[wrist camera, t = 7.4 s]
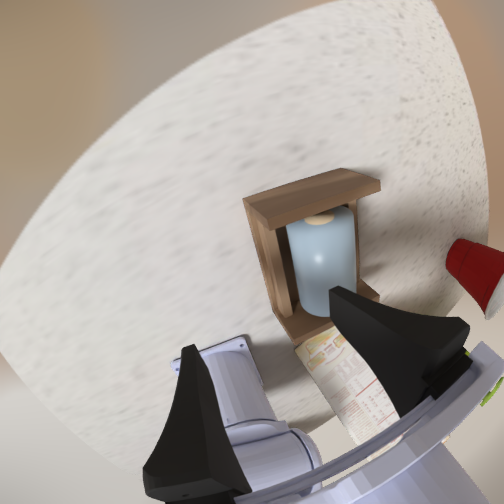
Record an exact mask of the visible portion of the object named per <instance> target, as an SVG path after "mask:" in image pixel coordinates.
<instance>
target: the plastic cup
mask: <svg viewBox="0 0 504 504" xmlns="http://www.w3.org/2000/svg"><path fill="white" fill-rule="evenodd" d="M446 269H447V270H448V271H449V273H450V274H451V275H452V276H453V277H454V278H456V279H457V280H458V281H459V283H460V284H461V285H462V286H463V288H464V289H465V290H466V291H467V292H468V293H469V294H470V295H471V296H472V297H473V298H474V299H475V301H476V302H477V303H478V305H479V306H480V307H481V309H482V311H483V312H484V315H485V319H486V320H489V319H491V318H492V317H493V316H494V315H495V314H496V313H497V312H498V311H499V310H500V308H501V307H502V306H503V304H504V252H501V251H499V250H496V249H493V248H490V247H488V246H485V245H482V244H479V243H474V242H472V241H469V240H466V239H461V238H460V239H457V240H456V241H455V242H454V244H453V245H452V247H451V248H450V251H449V253H448V255H447V259H446Z"/></svg>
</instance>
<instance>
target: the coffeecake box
mask: <svg viewBox="0 0 504 504" xmlns="http://www.w3.org/2000/svg"><path fill="white" fill-rule="evenodd" d="M295 352H296V354H297V355H298V357H299V358H300V360H301V361H302V363H303V365H304V366H305V368H306V369H307V371H308V372H309V374H310V375H311V377H312V378H313V380H314V381H315V383H316V384H317V386H318V387H319V389H320V390H321V392H322V394H323V395H324V397H325V398H326V400H327V401H328V403H329V404H330V406H331V407H332V409H333V410H334V412H335V413H336V415H337V416H338V418H339V419H340V421H341V422H342V424H343V425H344V427H345V428H346V430H347V431H348V433H349V434H350V436H351V437H352V439H353V440H354V441H355V443H356V445H357V446H359V445H361V444H363V443H364V442H366V441H368V440H369V439H371V438H372V437H374V436H376V435H377V434H379V433H380V432H382V431H383V430H385V429H386V428H388V427H389V426H391V425H392V424H394V423H395V422H396V421H398V420H399V419H400V418H399V416H398V413H397V412H396V410H395V408H394V406H393V404H392V402H391V400H390V398H389V397H388V395H387V393H386V392H385V390H384V388H383V387H382V385H381V383H380V382H379V380H378V379H377V377H376V376H375V374H374V373H373V371H372V370H371V368H370V367H369V366H368V364H367V363H366V362H365V360H364V359H363V358H362V357H361V356H360V355H359V354H358V352H357V351H356V350H355V349H354V348H353V347H352V346H351V345H350V343H349V342H348V341H347V340H346V339H345V338H344V337H343V336H342V334H341V333H340V332H339V331H338V329H337V328H336V326H334V327H332V328H330V329H328V330H326V331H324V332H322V333H320V334H318V335H316V336H314V337H312V338H310V339H308V340H306V341H304V342H303V343H302V344H301V345H300V346H299V347H297V348H296V349H295ZM408 430H409V429H408ZM408 430H407V431H408ZM407 431H406V432H407ZM406 432H404V433H406ZM404 433H403V434H404ZM403 434H402V435H400V436H399V437H397V438H396V439H395V440H393V441H392V442H390V443H389V444H387V445H386V446H384V447H383V448H381V449H380V450H378V451H377V452H375V453H373V454H372V455H370V456H369V457H367V458H366V459H367V461H368V462H370V461H371V460H373V459H374V458H376V457H378V456H379V455H381V454H382V453H384V452H386V451H387V450H389V449H390V448H392V447H393V446H395V445H396V444H397V443H398V442H399V441H400V440H401V438H402V437H403ZM449 438H450V435H448V436H447V437H446V438H445V439H444V440H442V441H441V442H442V443H443V444H444V443H445V442H446V441H447V440H448V439H449Z"/></svg>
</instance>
